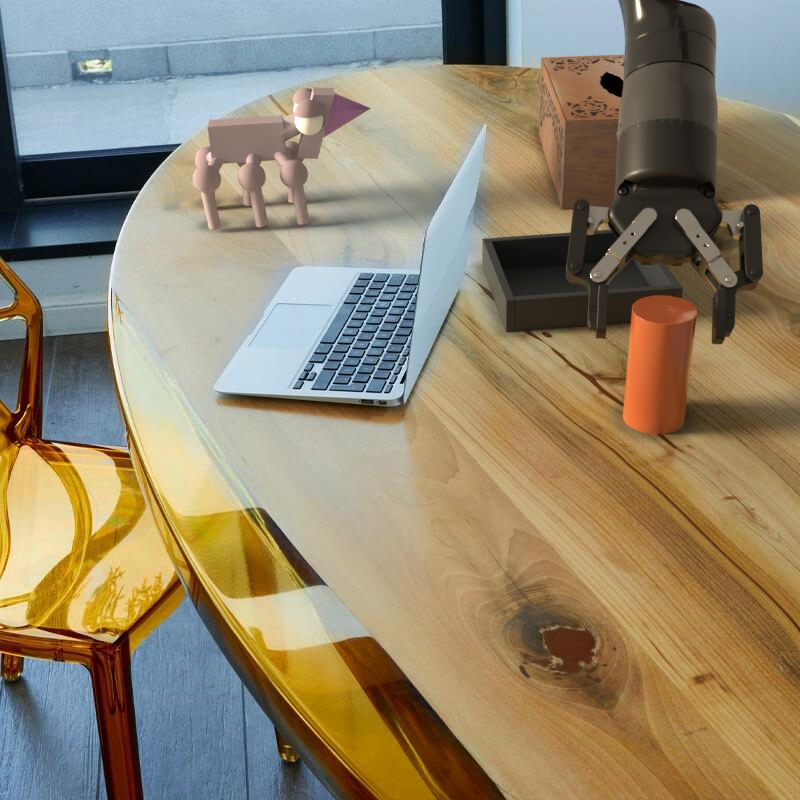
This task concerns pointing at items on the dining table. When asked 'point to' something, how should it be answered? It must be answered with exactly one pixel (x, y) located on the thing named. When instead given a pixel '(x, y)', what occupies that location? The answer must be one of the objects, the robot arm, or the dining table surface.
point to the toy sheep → (271, 150)
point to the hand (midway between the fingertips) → (659, 338)
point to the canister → (659, 363)
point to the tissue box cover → (581, 125)
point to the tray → (562, 281)
